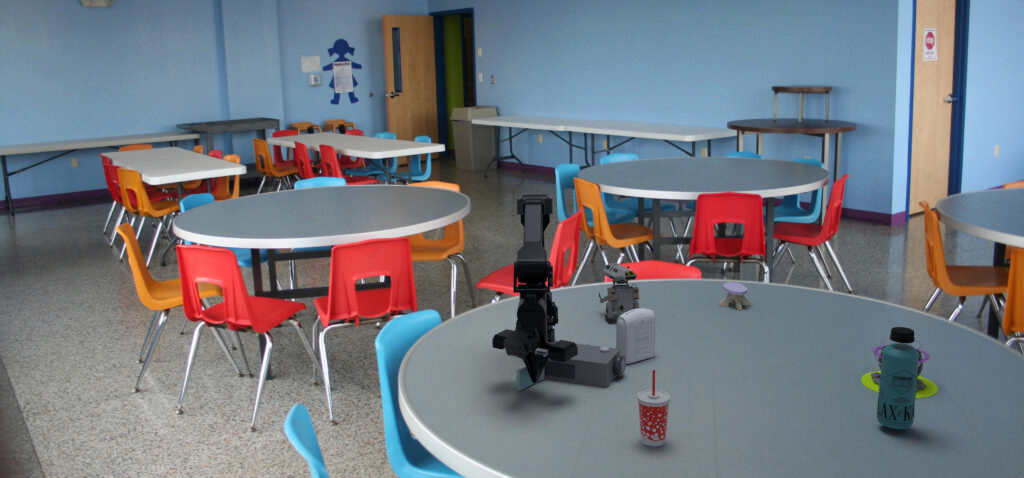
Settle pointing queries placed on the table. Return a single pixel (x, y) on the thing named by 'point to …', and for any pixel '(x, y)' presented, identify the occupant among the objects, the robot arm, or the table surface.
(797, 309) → the table surface
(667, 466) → the table surface
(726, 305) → the toy table
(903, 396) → the beverage bottle
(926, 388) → the toy cauldron
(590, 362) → the box
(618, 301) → the figurine
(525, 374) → the side door
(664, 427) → the beverage cup
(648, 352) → the photo printer
